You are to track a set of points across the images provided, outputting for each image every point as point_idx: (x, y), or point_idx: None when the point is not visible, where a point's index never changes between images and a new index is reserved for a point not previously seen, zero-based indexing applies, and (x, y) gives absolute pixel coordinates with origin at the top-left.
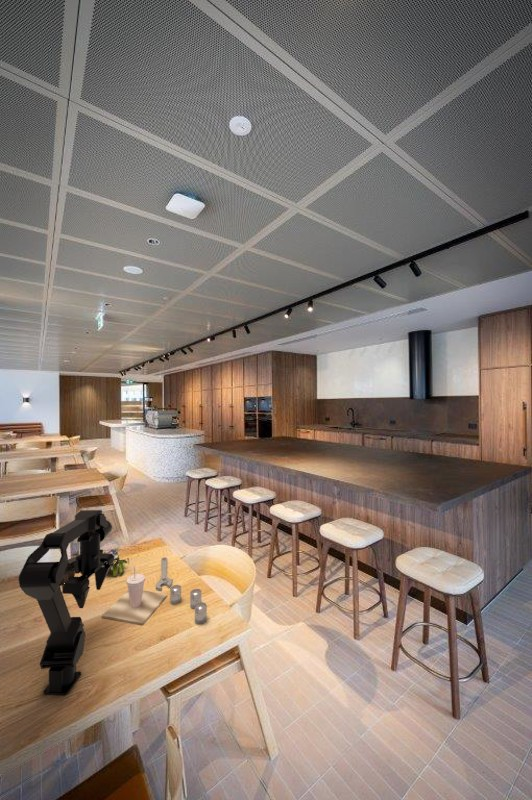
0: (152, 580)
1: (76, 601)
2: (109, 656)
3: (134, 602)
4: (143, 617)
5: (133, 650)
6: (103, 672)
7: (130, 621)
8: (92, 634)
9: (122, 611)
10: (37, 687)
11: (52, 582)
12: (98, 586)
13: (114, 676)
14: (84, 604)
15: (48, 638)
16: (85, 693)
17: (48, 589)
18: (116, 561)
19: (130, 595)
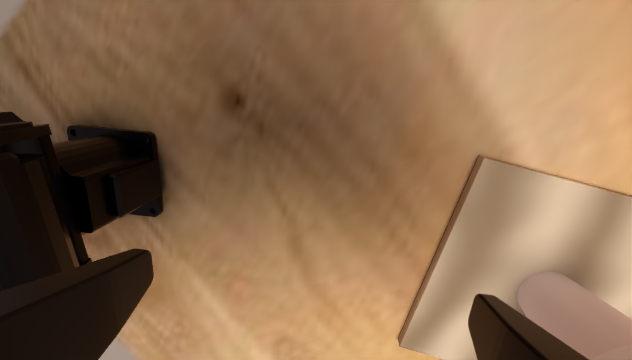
0: None
1: (9, 292)
2: (242, 272)
3: (531, 317)
4: (434, 343)
5: (271, 335)
6: (180, 276)
7: (419, 298)
8: (358, 162)
9: (498, 249)
10: (91, 86)
11: None
12: (487, 348)
13: (171, 310)
14: (127, 316)
15: None
16: (107, 254)
17: None
18: None
19: (562, 332)
